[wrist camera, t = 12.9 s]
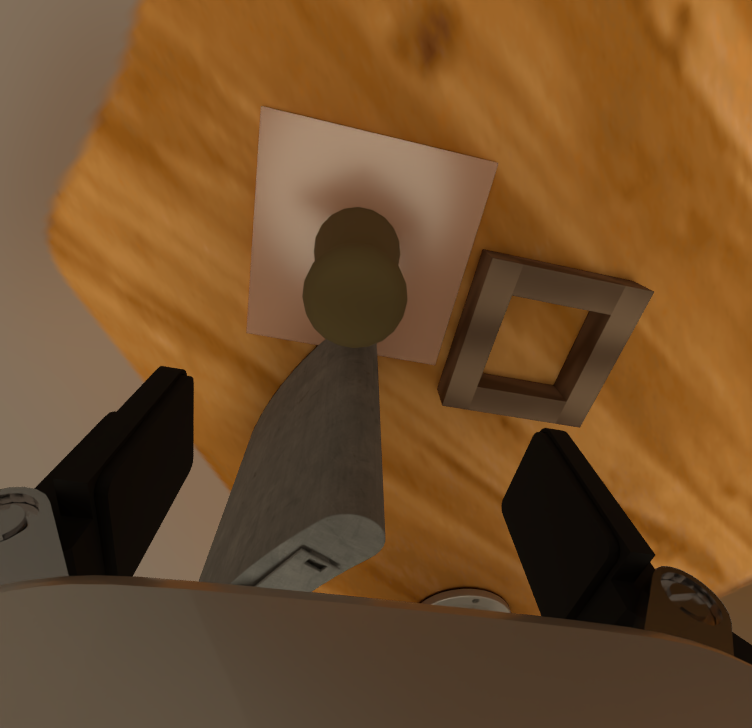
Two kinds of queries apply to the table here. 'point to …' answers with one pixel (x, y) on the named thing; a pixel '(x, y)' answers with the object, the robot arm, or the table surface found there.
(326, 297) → the olive pawn shape
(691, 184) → the table surface
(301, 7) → the table surface
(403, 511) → the table surface
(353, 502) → the hip flask
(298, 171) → the terracotta tile
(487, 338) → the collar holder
